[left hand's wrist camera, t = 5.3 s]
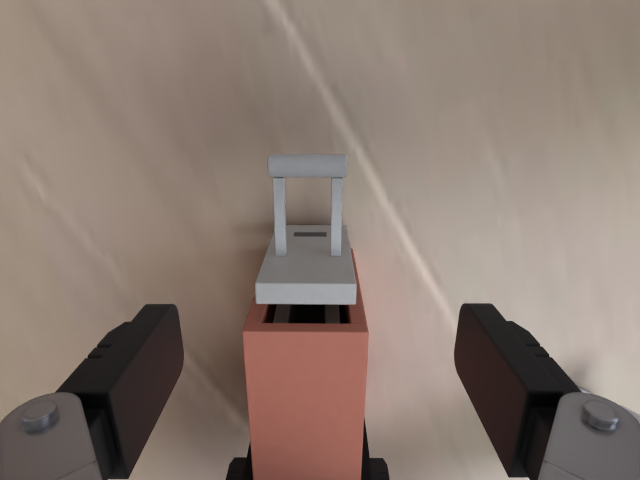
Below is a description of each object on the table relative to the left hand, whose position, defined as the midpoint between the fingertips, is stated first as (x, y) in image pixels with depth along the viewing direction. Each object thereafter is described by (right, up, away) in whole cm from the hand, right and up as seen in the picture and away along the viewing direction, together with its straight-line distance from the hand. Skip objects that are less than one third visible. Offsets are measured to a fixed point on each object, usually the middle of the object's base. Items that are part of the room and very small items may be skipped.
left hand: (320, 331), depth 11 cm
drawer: (-1, -1, +19) cm, 19 cm away
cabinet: (-1, -6, +22) cm, 23 cm away
